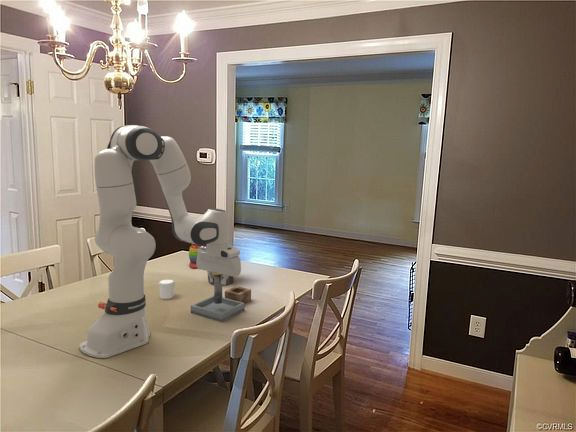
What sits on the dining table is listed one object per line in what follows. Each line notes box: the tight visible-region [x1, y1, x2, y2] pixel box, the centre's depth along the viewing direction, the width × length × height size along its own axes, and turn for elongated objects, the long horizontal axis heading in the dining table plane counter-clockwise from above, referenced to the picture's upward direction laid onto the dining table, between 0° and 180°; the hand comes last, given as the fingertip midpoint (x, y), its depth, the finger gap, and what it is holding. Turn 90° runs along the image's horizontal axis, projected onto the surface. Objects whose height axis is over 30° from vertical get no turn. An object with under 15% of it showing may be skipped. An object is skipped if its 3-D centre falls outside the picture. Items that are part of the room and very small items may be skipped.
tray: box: [190, 295, 246, 323], centre depth 164 cm, size 14×16×3 cm
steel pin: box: [212, 271, 223, 304], centre depth 162 cm, size 5×5×13 cm
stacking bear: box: [188, 244, 205, 270], centre depth 225 cm, size 11×10×18 cm
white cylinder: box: [157, 278, 175, 300], centre depth 178 cm, size 7×7×7 cm
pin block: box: [224, 285, 252, 304], centre depth 175 cm, size 8×8×5 cm
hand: (218, 283), depth 162 cm, fingers closed on steel pin, 4 cm apart
